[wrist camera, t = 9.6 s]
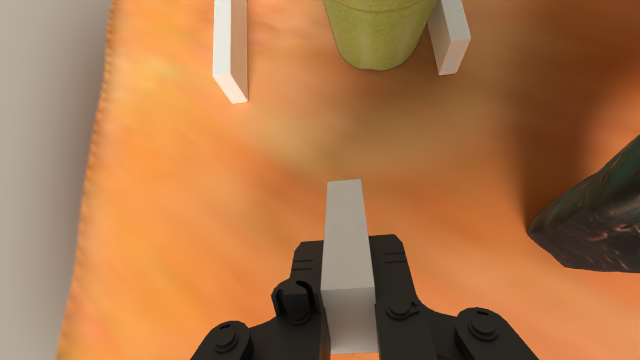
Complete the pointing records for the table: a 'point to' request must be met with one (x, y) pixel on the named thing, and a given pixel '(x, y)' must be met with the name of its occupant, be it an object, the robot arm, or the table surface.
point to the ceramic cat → (597, 218)
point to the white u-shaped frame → (232, 43)
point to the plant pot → (377, 30)
